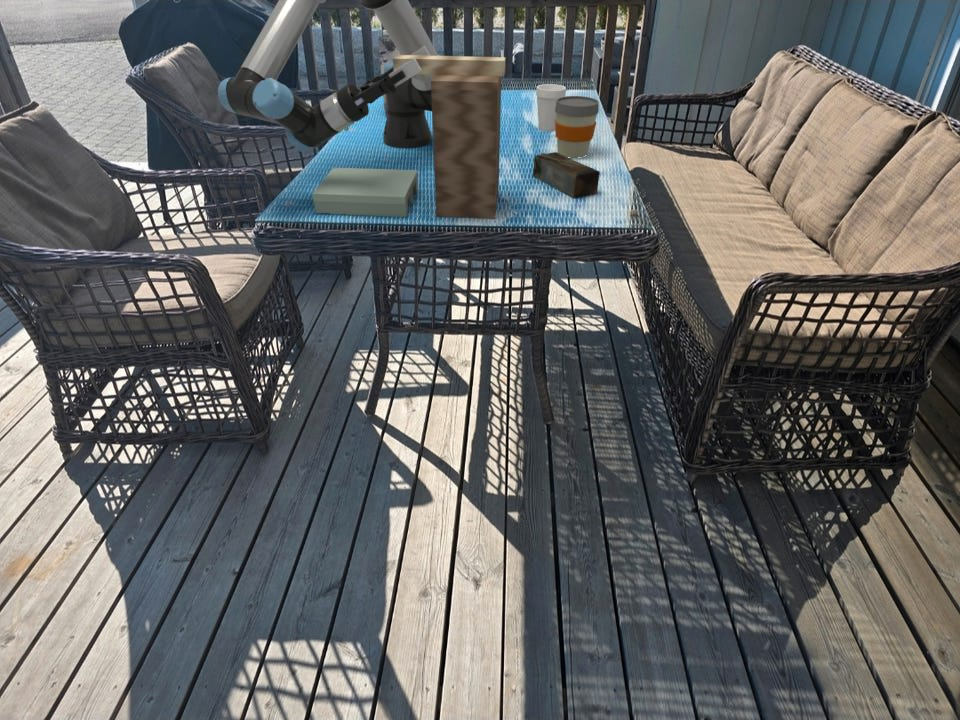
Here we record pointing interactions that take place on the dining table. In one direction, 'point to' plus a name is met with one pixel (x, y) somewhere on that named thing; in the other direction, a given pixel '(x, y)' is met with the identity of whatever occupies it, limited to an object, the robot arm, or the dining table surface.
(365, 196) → the grey-green flat box
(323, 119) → the robot arm
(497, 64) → the pine slat
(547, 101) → the foam cup
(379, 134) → the dining table surface
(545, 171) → the beverage carton
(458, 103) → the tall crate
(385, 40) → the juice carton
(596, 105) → the reusable coffee cup
